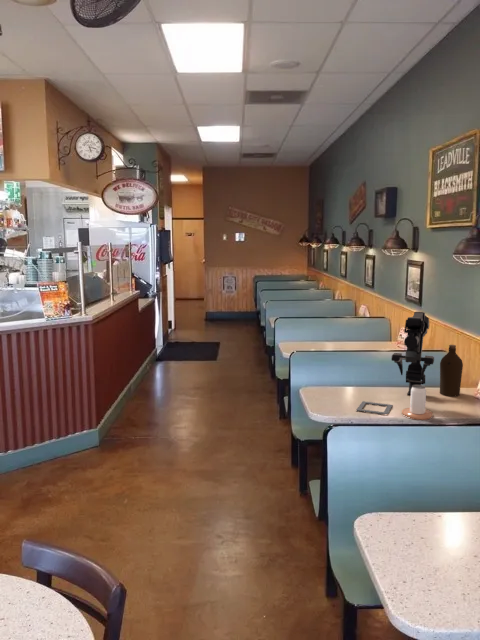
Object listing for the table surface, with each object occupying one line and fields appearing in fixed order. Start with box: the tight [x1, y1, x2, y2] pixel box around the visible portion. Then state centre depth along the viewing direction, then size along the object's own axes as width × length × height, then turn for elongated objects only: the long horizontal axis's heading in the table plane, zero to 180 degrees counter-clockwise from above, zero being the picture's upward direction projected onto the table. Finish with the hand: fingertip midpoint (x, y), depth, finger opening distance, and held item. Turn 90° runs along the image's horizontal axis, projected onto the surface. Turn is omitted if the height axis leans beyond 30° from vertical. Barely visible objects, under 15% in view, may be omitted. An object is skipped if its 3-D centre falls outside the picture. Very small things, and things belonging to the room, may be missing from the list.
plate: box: [401, 407, 434, 421], centre depth 242 cm, size 13×13×1 cm
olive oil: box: [439, 344, 464, 397], centre depth 270 cm, size 11×11×25 cm
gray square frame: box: [355, 400, 393, 415], centre depth 250 cm, size 14×14×1 cm
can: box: [409, 384, 427, 415], centre depth 240 cm, size 6×6×12 cm
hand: (411, 376), depth 257 cm, fingers open, 9 cm apart
